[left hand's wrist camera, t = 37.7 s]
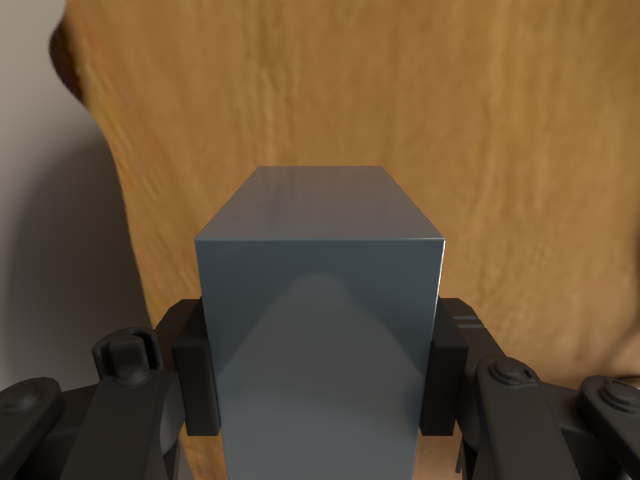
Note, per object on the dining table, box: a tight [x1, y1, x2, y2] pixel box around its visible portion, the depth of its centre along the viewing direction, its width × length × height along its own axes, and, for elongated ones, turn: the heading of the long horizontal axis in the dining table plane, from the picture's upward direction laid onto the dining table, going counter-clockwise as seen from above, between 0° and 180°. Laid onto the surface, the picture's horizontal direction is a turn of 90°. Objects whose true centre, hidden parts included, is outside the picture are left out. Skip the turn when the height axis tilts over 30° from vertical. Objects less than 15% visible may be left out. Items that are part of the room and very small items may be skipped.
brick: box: [194, 166, 446, 480], centre depth 12 cm, size 8×5×8 cm, turn 0°
